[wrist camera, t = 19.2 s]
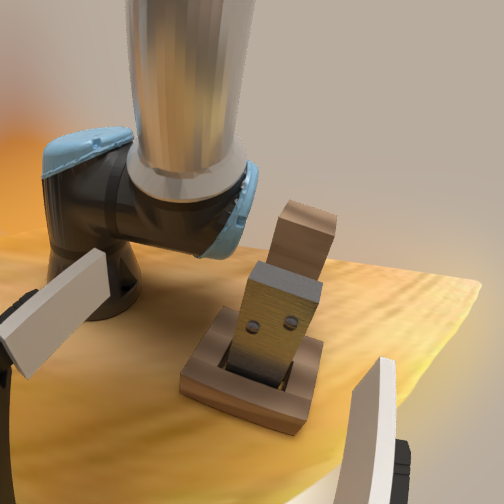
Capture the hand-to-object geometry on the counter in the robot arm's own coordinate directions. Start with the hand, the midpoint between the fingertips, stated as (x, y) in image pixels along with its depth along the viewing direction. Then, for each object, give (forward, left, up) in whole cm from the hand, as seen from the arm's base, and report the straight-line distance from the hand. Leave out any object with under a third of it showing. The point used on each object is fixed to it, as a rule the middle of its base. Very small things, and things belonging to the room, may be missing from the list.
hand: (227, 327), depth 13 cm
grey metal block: (-7, +9, -21) cm, 24 cm away
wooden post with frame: (-10, +13, -21) cm, 26 cm away
